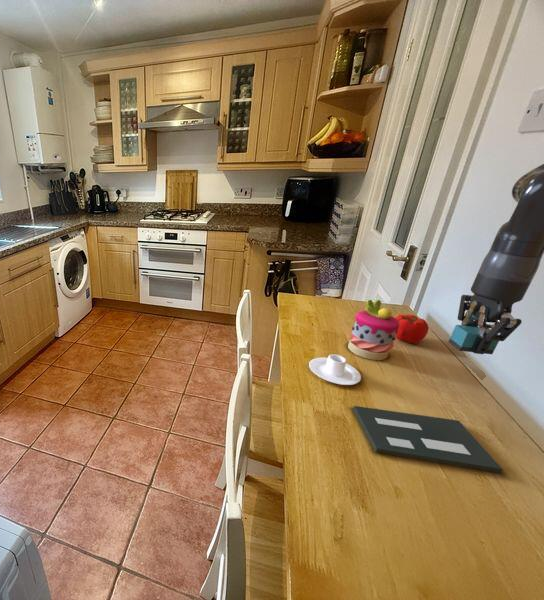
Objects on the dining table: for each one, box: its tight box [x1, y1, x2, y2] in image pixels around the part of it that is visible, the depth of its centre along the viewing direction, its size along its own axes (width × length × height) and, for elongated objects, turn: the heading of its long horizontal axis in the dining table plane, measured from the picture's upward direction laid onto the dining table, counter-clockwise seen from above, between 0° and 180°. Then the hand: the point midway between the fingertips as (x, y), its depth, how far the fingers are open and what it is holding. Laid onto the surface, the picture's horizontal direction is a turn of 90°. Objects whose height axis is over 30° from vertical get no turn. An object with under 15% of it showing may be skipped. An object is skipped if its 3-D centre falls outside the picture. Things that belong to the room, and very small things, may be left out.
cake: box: [347, 299, 400, 361], centre depth 91 cm, size 10×11×15 cm
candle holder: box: [308, 353, 362, 386], centre depth 83 cm, size 12×12×4 cm
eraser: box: [448, 324, 500, 355], centre depth 70 cm, size 6×4×4 cm, turn 76°
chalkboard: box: [352, 405, 504, 474], centre depth 64 cm, size 20×12×1 cm, turn 77°
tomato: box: [394, 313, 429, 344], centre depth 99 cm, size 9×9×8 cm
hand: (470, 347), depth 71 cm, fingers closed on eraser, 4 cm apart
